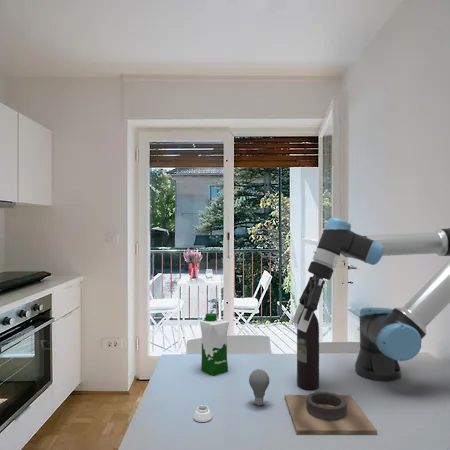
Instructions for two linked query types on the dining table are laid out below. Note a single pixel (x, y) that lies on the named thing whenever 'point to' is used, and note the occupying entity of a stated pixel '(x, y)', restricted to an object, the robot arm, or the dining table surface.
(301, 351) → the wine bottle
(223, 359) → the milk carton
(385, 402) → the dining table surface
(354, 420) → the lamp holder
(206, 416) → the lidless jar
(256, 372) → the light bulb
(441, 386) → the dining table surface
